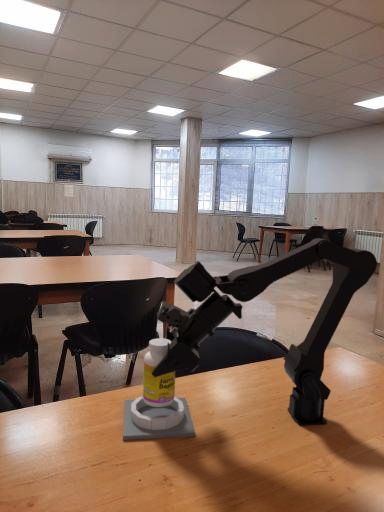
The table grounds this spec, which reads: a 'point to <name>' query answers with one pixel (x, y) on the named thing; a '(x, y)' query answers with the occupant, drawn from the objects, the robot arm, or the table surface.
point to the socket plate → (156, 420)
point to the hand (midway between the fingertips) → (153, 368)
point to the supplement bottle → (163, 386)
